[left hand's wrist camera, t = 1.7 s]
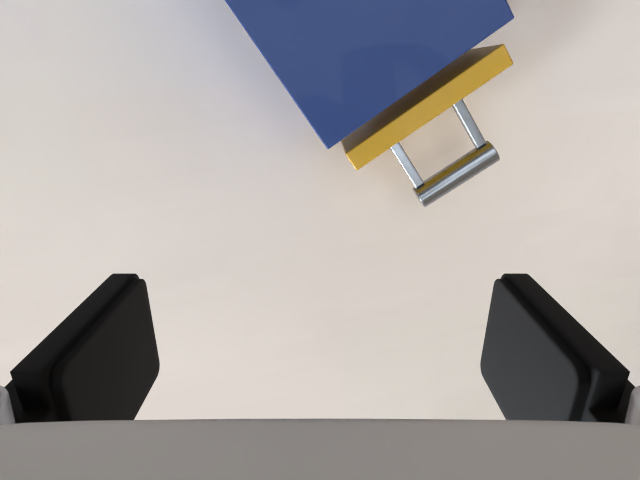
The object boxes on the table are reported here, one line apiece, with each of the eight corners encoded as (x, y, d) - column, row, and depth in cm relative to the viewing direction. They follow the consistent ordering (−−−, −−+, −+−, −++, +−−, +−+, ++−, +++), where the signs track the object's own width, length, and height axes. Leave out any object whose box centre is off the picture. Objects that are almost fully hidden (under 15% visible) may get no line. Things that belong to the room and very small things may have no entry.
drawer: (510, 133, 29) (555, 147, 24) (388, 211, 31) (403, 241, 26) (306, -257, 22) (302, -370, 16) (165, -121, 24) (119, -180, 18)
